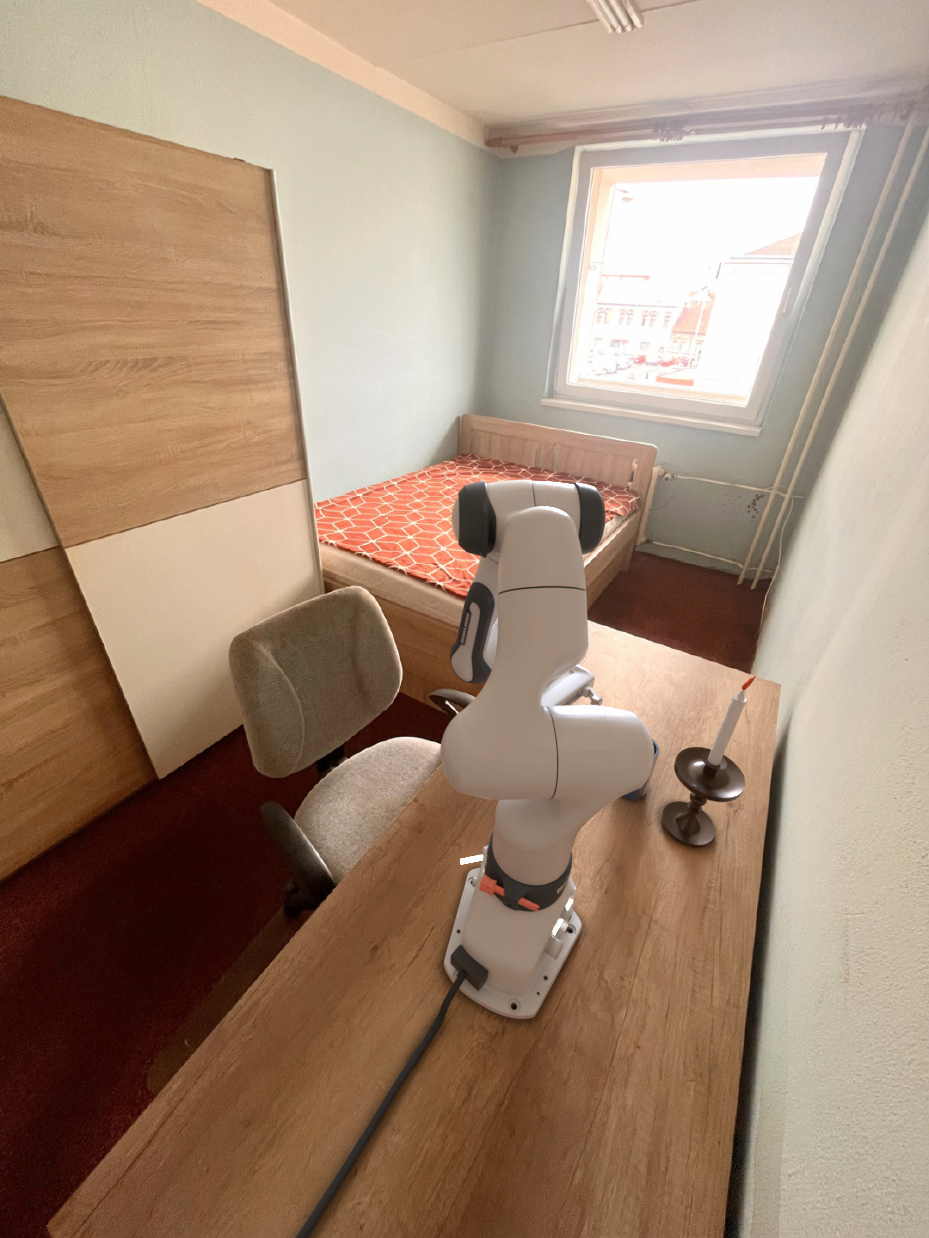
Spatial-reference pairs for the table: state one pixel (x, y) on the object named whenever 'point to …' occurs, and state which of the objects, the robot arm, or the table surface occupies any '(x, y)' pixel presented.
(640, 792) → the cup
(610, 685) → the table surface
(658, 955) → the table surface
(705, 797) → the candlestick
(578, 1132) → the table surface
